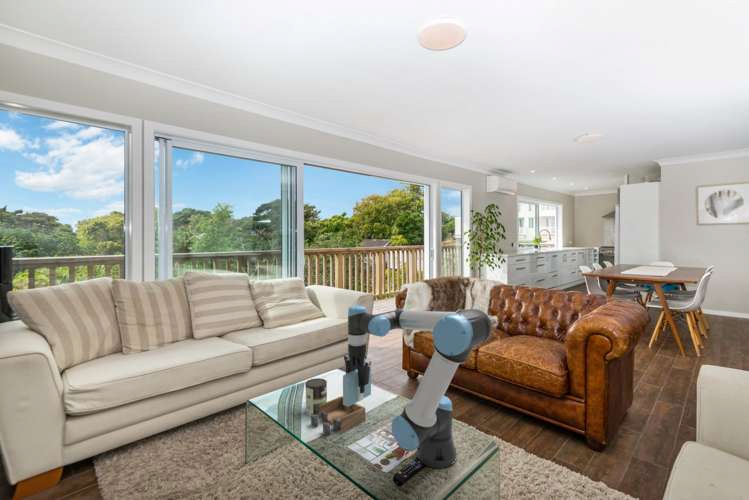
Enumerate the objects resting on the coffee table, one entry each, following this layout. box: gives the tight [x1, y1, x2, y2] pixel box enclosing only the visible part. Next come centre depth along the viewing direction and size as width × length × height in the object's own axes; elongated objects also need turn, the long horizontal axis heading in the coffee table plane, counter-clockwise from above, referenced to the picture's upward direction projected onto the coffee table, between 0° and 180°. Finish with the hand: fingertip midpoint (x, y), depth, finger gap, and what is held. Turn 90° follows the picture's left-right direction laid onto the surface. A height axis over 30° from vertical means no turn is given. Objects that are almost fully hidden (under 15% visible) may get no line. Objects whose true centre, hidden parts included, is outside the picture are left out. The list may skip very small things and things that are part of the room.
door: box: [342, 366, 372, 407], centre depth 152 cm, size 14×3×12 cm, turn 140°
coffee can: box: [304, 378, 328, 417], centre depth 176 cm, size 10×10×14 cm
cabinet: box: [310, 395, 366, 436], centre depth 165 cm, size 17×20×6 cm
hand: (357, 398), depth 152 cm, fingers closed on door, 3 cm apart
